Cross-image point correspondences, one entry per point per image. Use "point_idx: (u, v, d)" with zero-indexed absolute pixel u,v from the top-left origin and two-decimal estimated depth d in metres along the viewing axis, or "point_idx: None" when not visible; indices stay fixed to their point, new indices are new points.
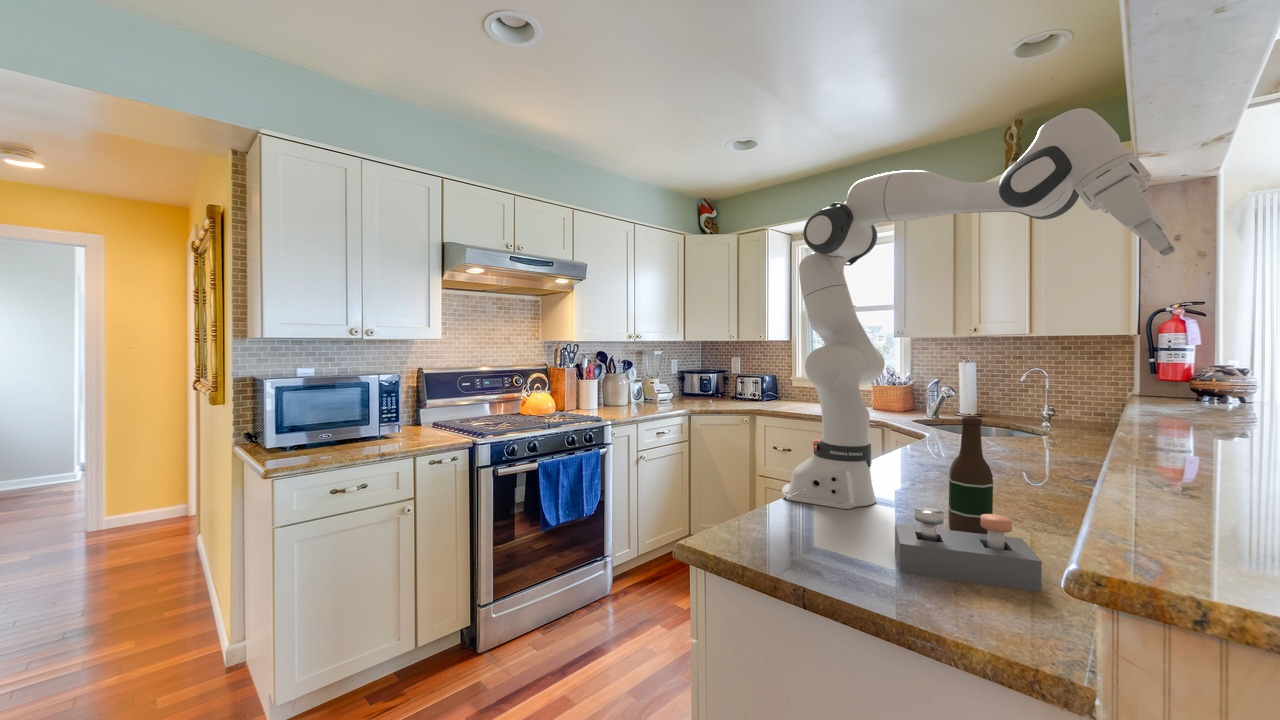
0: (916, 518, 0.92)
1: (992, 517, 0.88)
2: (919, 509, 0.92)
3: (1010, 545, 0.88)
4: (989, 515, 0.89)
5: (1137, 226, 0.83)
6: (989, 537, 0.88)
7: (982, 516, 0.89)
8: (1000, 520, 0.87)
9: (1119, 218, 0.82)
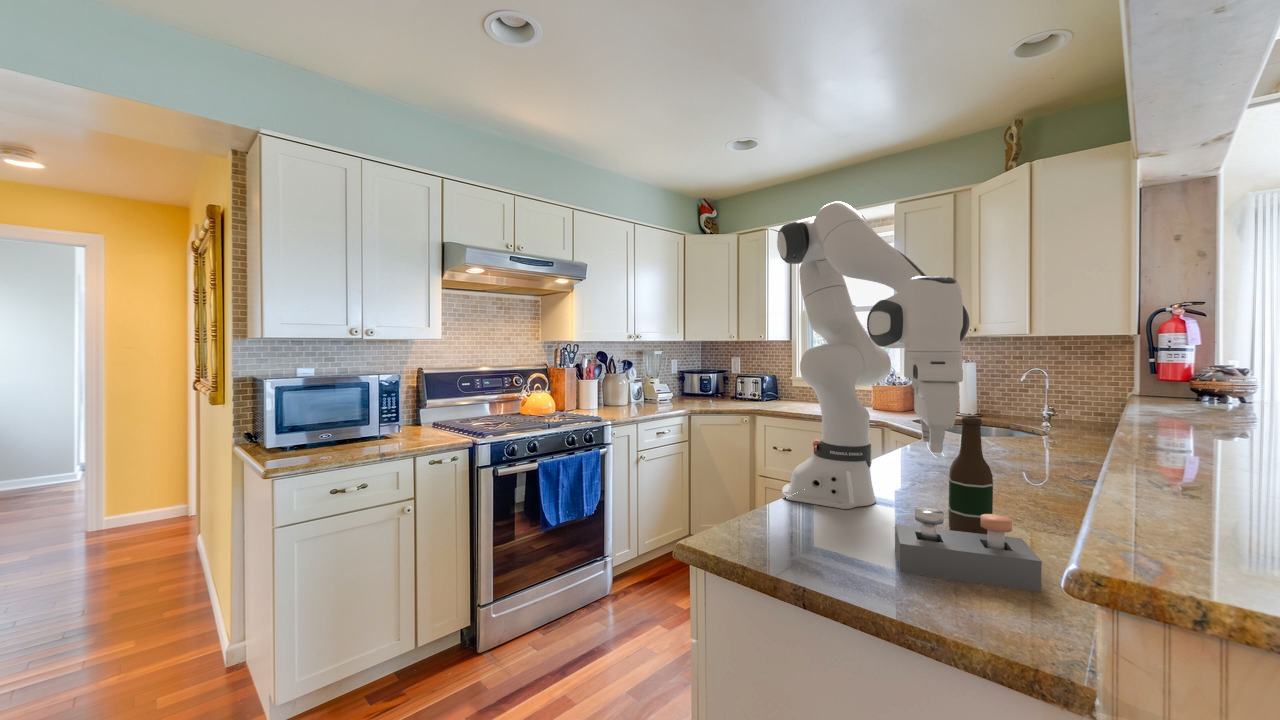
0: (916, 518, 0.92)
1: (992, 517, 0.88)
2: (919, 509, 0.92)
3: (1010, 545, 0.88)
4: (989, 515, 0.89)
5: None
6: (989, 537, 0.88)
7: (982, 516, 0.89)
8: (1000, 520, 0.87)
9: (929, 418, 0.82)
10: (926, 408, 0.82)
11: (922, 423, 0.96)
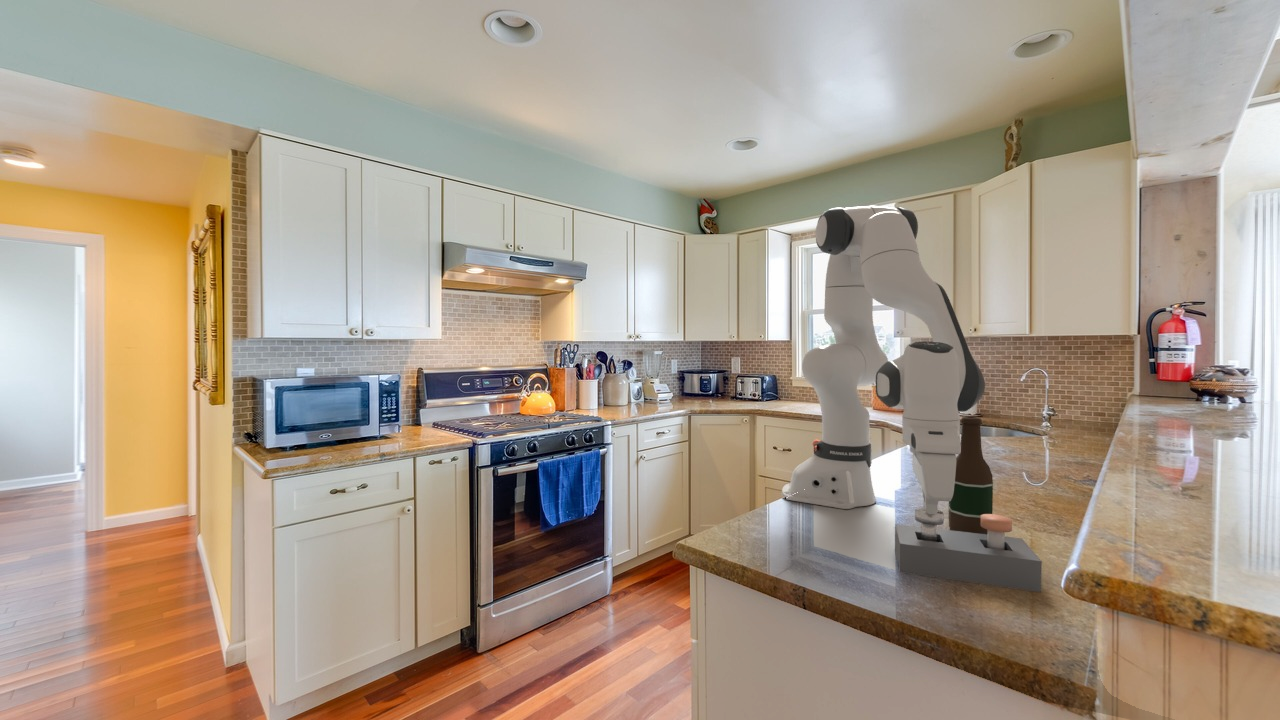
0: (916, 518, 0.92)
1: (992, 517, 0.88)
2: (919, 509, 0.92)
3: (1010, 545, 0.88)
4: (989, 515, 0.89)
5: None
6: (989, 537, 0.88)
7: (982, 516, 0.89)
8: (1000, 520, 0.87)
9: (928, 491, 0.82)
10: (924, 480, 0.83)
11: (923, 491, 0.93)
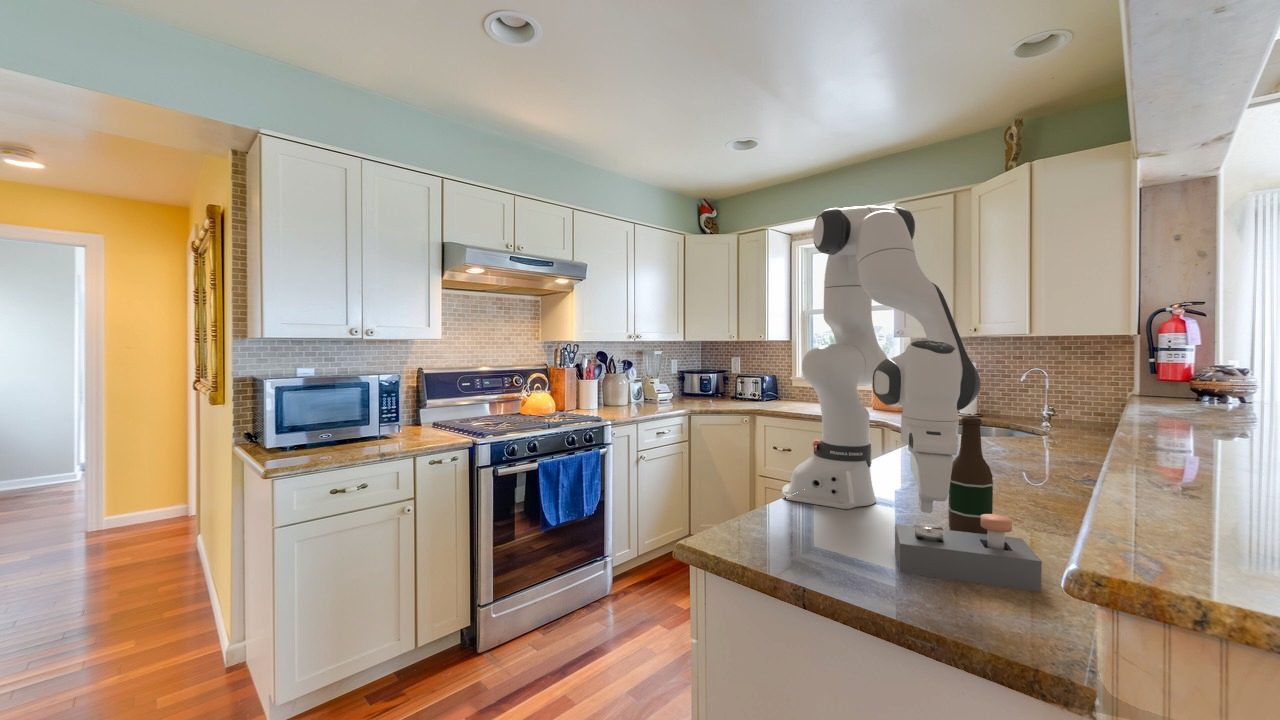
0: (916, 534, 0.92)
1: (992, 517, 0.88)
2: (919, 525, 0.93)
3: (1010, 545, 0.88)
4: (989, 515, 0.89)
5: None
6: (989, 537, 0.88)
7: (982, 516, 0.89)
8: (1000, 520, 0.87)
9: (923, 490, 0.83)
10: (920, 480, 0.83)
11: None
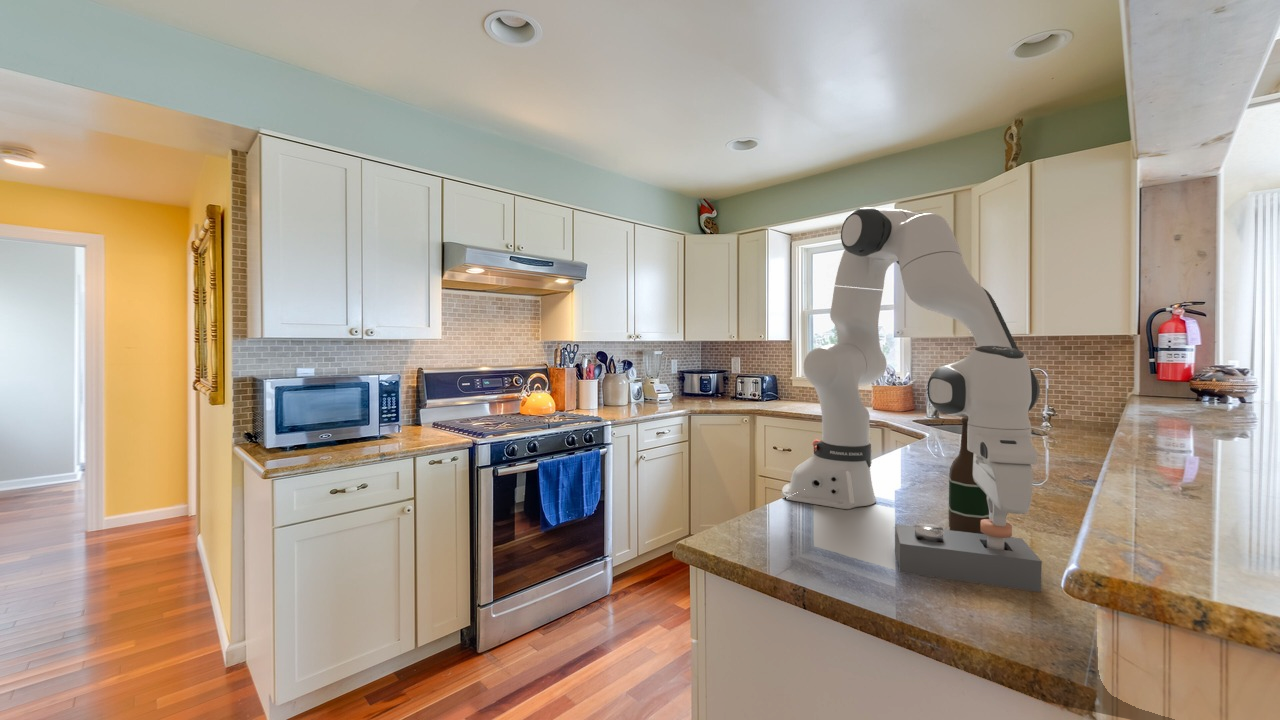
0: (916, 534, 0.92)
1: None
2: (919, 525, 0.93)
3: (1010, 545, 0.88)
4: (989, 520, 0.89)
5: None
6: (989, 542, 0.88)
7: (982, 521, 0.89)
8: None
9: (1002, 503, 0.79)
10: (998, 492, 0.79)
11: (989, 501, 0.89)
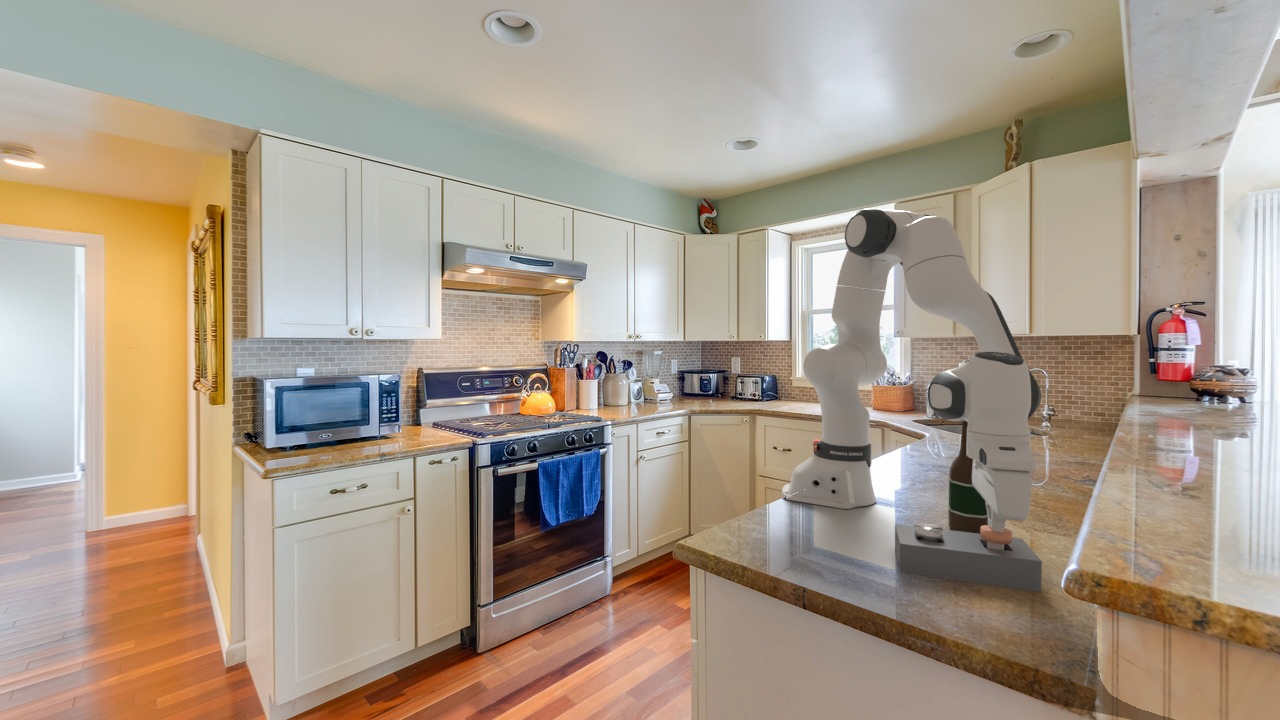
0: (916, 534, 0.92)
1: None
2: (919, 525, 0.93)
3: (1010, 545, 0.88)
4: (989, 526, 0.89)
5: None
6: None
7: (982, 527, 0.89)
8: (999, 532, 0.87)
9: (1001, 509, 0.79)
10: (997, 498, 0.79)
11: (988, 507, 0.89)
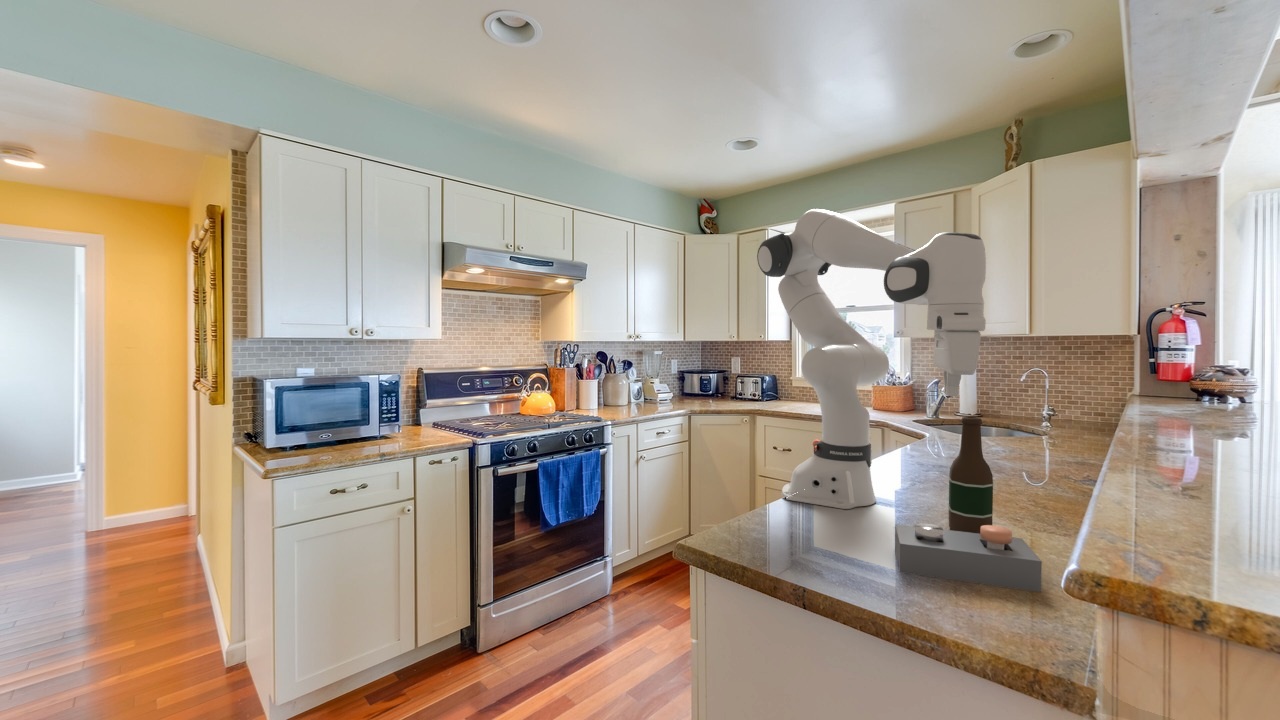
0: (916, 534, 0.92)
1: (992, 528, 0.88)
2: (919, 525, 0.93)
3: (1010, 545, 0.88)
4: (989, 526, 0.89)
5: (950, 372, 0.94)
6: None
7: (982, 527, 0.89)
8: (999, 532, 0.87)
9: (952, 365, 0.87)
10: (949, 355, 0.88)
11: (945, 377, 0.98)
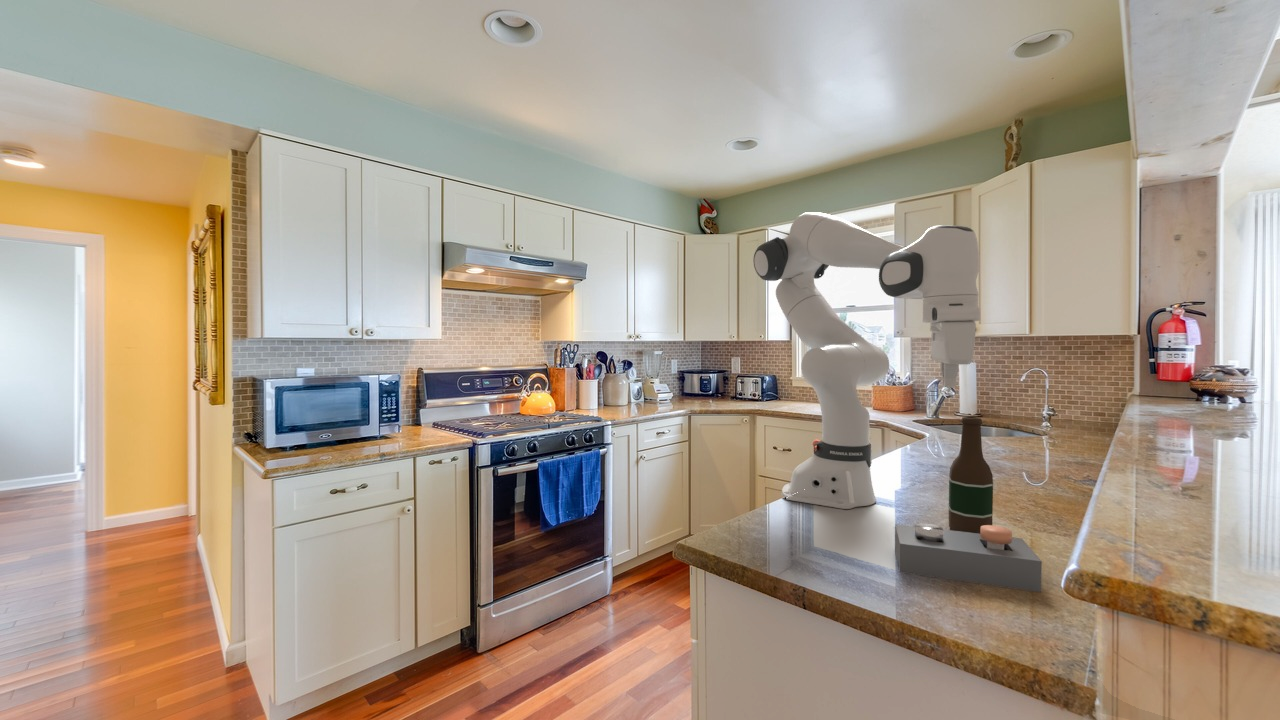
0: (916, 534, 0.92)
1: (992, 528, 0.88)
2: (919, 525, 0.93)
3: (1010, 545, 0.88)
4: (989, 526, 0.89)
5: (947, 363, 0.94)
6: None
7: (982, 527, 0.89)
8: (999, 532, 0.87)
9: (948, 354, 0.88)
10: (945, 345, 0.88)
11: (942, 369, 0.98)
